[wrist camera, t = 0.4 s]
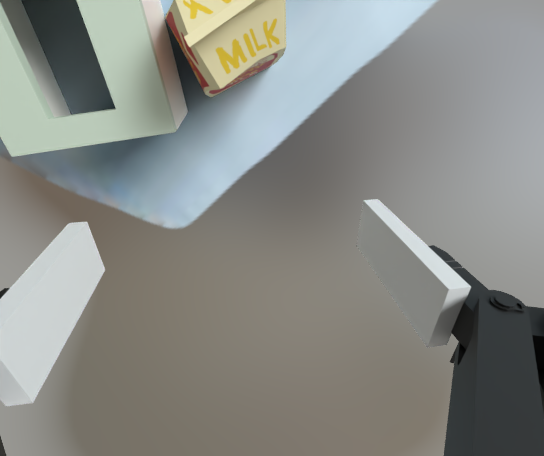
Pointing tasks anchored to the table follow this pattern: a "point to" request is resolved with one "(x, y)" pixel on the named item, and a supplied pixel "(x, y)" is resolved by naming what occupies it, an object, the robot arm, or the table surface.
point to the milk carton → (228, 38)
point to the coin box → (116, 69)
